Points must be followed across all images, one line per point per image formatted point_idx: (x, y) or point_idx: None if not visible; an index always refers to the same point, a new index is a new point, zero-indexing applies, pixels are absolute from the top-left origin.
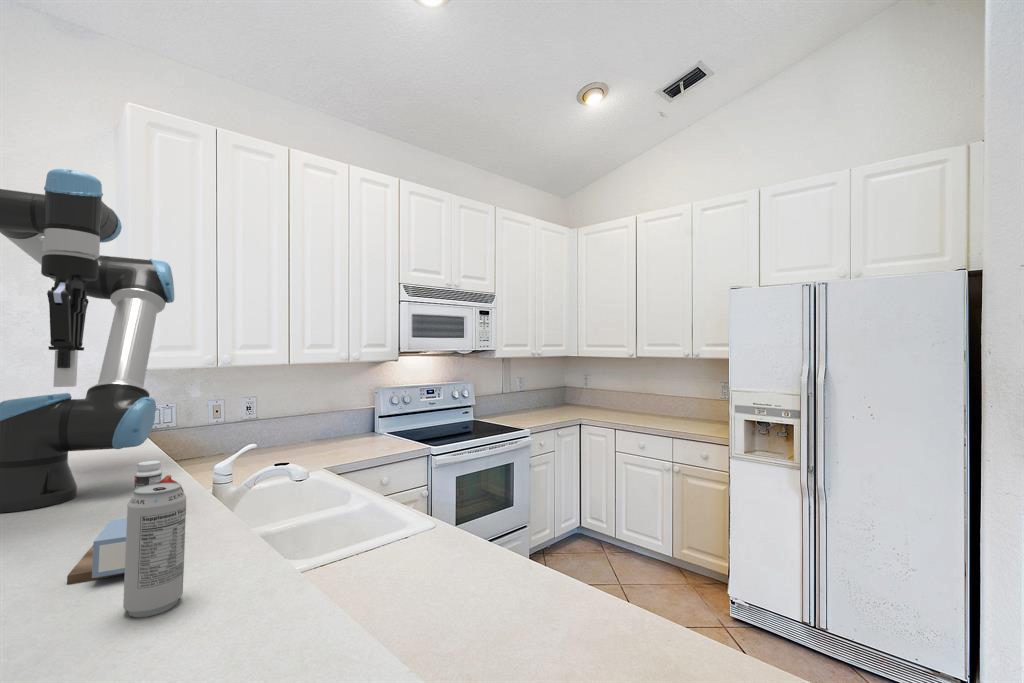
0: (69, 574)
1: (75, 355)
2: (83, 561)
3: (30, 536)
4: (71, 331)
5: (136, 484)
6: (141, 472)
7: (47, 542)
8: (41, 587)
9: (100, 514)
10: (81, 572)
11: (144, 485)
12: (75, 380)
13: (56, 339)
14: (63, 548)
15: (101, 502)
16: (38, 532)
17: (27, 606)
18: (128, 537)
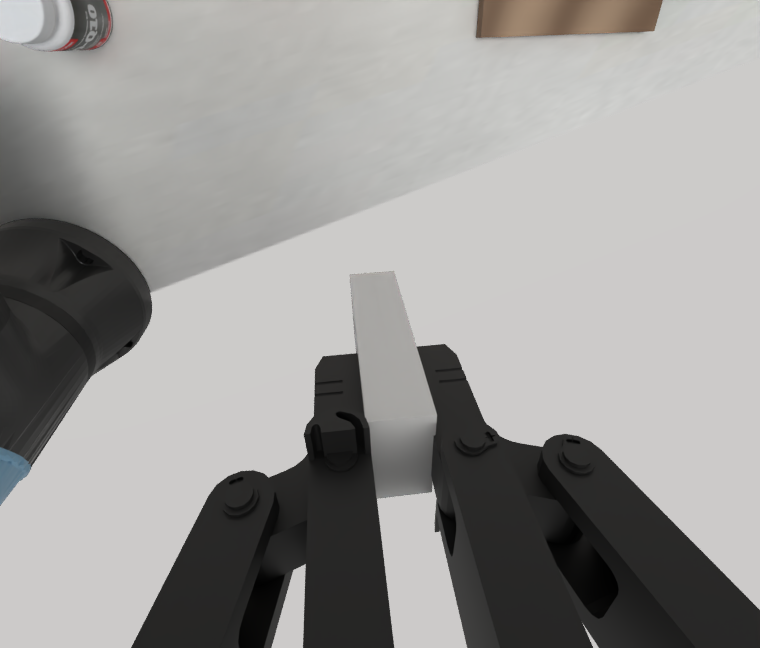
0: (651, 29)
1: (422, 386)
2: (596, 24)
3: (331, 193)
4: (561, 596)
5: (83, 39)
6: (57, 23)
7: (384, 148)
8: (626, 71)
9: (206, 107)
10: (655, 9)
11: (87, 10)
12: (372, 288)
13: (579, 537)
14: (438, 105)
15: (85, 139)
16: (309, 189)
17: (691, 63)
18: None
